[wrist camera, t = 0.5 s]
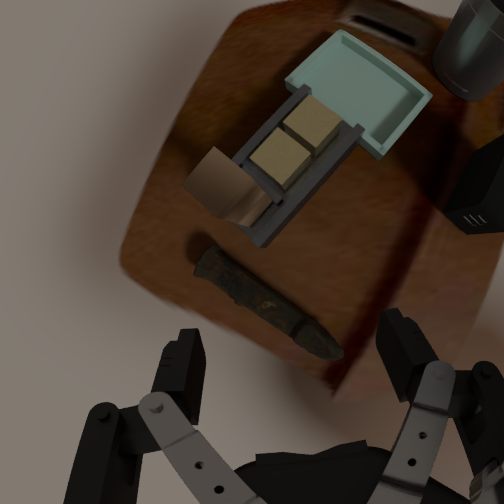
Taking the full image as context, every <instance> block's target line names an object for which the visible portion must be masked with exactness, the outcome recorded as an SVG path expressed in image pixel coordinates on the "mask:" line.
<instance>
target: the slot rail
mask: <svg viewBox="0 0 504 504" xmlns="http://www.w3.org/2000/svg"><path fill="white" fill-rule="evenodd" d="M309 94H310V95H311V96H312V88H310V87H309V86H308V85H306V84H305V83H304V84H303V85H302V86H301V87H300V88H299V89H298V90H297V91H296V92H295V93H294V94H293V95H292V96H291V97H290V98H289V99H288V100H287V101H286V102H285V103H284V104H283V105H282V106H281V107H280V108H279V109H278V110H277V111H276V112H275V113H274V114H273V115H272V116H271V117H270V118H269V119H268V120H267V121H266V122H265V123H264V124H263V126H262V127H261V128H260V129H259V130H258V131H257V132H256V133H255V134H254V135H253V136H252V137H251V138H250V139H249V141H248V142H247V143H246V144H245V145H244V146H243V147H242V148H241V149H240V150H239V151H238V153H237V154H236V155H235V156H234V157H233V158H232V159H231V160H232V161H233V162H234V163H235V164H236V165H238V166H239V167H240V168H241V169H242V168H243V166H244V165H245V166H246V167H247V168H248V169H249V170H251V171H252V172H253V173H254V174H255V175H256V176H258V177H259V178H260V179H261V180H262V181H264V182H265V183H266V184H267V185H268V186H269V187H270V188H272V189H273V190H274V191H275V192H276V193H277V194H279V195H280V196H281V197H282V199H283V202H282V203H281V204H280V205H279V206H277V205H276V204H275V203H274V202H273V203H272V204H271V206H270V207H269V208H268V209H267V210H266V211H265V212H264V213H263V214H262V216H261V217H260V218H259V219H258V220H257V221H256V222H255V223H254V225H253V226H252V227H247V226H244V225H240V224H237V223H236V224H237V225H238V226H239V227H240V228H241V229H242V230H243V231H244V232H245V233H247V234H248V235H249V236H250V237H251V238H252V242H253V243H254V244H255V245H256V246H257V247H258V248H266V247H267V246H268V245H269V244H270V243H271V242H272V241H273V240H274V238H275V237H276V236H277V235H278V234H279V233H280V232H281V231H282V230H283V228H284V227H285V226H286V225H287V224H288V223H289V222H290V221H291V220H292V218H293V217H294V216H295V215H296V214H297V213H298V212H299V211H300V209H301V208H302V207H303V206H304V205H305V204H306V203H307V202H308V201H309V199H310V198H311V197H312V196H313V195H314V194H315V193H316V192H317V191H318V189H319V188H320V187H321V186H322V185H323V184H324V183H325V182H326V180H327V179H328V178H329V177H330V176H331V175H332V174H333V173H334V172H335V170H336V169H337V168H338V167H339V166H340V165H341V164H342V163H343V161H344V160H345V159H346V158H347V157H348V156H349V155H350V154H351V152H352V151H353V150H354V149H355V148H356V147H357V146H358V145H359V143H360V140H361V138H362V136H363V133H364V131H365V128H363V127H362V126H361V125H360V124H358V123H357V124H356V125H355V126H354V127H351V126H350V125H349V124H348V123H346V122H345V121H344V120H342V124H341V128H340V133H339V134H338V135H337V136H336V137H335V138H334V140H333V141H332V142H331V143H330V144H329V145H328V146H327V147H326V148H325V149H324V150H323V152H322V153H321V154H320V155H319V156H318V157H317V158H316V159H314V158H313V157H312V156H311V165H310V166H309V167H308V168H307V169H306V170H305V171H304V172H303V174H302V175H301V176H300V177H299V178H298V179H297V180H296V181H295V182H294V184H293V185H292V186H291V187H290V188H289V189H288V190H287V191H286V192H284V191H283V190H282V189H281V188H280V187H279V186H277V185H276V184H275V183H274V182H273V181H272V180H270V179H269V178H268V177H267V176H266V175H265V174H263V173H262V172H261V171H260V170H259V169H257V168H256V166H255V165H254V163H253V162H252V161H251V159H250V157H251V155H252V154H253V153H254V152H255V151H256V150H257V149H258V148H259V147H260V146H261V145H262V143H263V142H264V141H265V140H266V139H267V138H268V137H269V136H270V135H271V134H272V133H273V132H274V131H275V130H276V128H277V127H278V128H280V129H281V130H282V131H284V132H285V129H284V125H283V121H284V120H285V119H286V118H287V117H288V116H289V115H290V114H291V113H292V112H293V111H294V110H295V109H296V108H297V107H298V106H299V104H300V103H301V102H302V101H303V100H304V99H305V98H306V97H307V96H308V95H309Z"/></svg>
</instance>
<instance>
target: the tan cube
mask: <svg viewBox="0 0 504 504" xmlns="http://www.w3.org/2000/svg"><path fill="white" fill-rule="evenodd" d="M341 124H342V118H341V117H340V116H338V115H337V114H336V113H335V112H333V111H332V110H331V109H329V108H328V107H327V106H325V105H324V104H323V103H321V102H320V101H318V100H317V99H316V98H314V97H313V96H311V95H310V94H309V95H308V96H307V97H306V98H305V99H304V100H303V101H302V102H301V103H300V104H299V106H298V107H297V108H296V109H295V110H294V111H293V112H292V113H291V114H290V115H289V116H288V117H287V118H286V119H285V120H284V121H283V125H284V129H285V133H286V134H287V135H289V136H290V137H291V138H293V139H294V140H295V141H296V142H298V143H299V144H300V145H301V146H303V147H304V148H305V149H306V150H308V151H309V152H310V153H311V156H312V157H313V158H314V159H316V158H317V157H318V156H319V155H320V154H321V153H322V152H323V150H324V149H325V148H326V147H327V146H328V145H329V144H330V143H331V142H332V141H333V140H334V138H335V137H336V136H337V135H338V134H339V133H340V128H341Z"/></svg>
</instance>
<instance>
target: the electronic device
mask: <svg viewBox="0 0 504 504" xmlns="http://www.w3.org/2000/svg"><path fill="white" fill-rule="evenodd" d="M443 213H444V214H445V215H446V216H447V217H448V218H449V219H451V220H452V221H453V222H454V223H455V224H456V225H457V226H458V227H459V228H460V229H461V230H462V231H464V232H465V233H466V234H467V235H469V234H483V233H498V232H504V134H503V135H501V136H500V137H498V138H496V139H495V140H493V141H491V142H490V143H488V144H486V145H485V146H483V147H482V148H480V149H478V150H477V151H476V152H475V153H474V154H473V156H472V157H471V159H470V161H469V163H468V165H467V167H466V169H465V171H464V173H463V175H462V177H461V179H460V181H459V183H458V185H457V187H456V188H455V190H454V192H453V194H452V196H451V197H450V199H449V201H448V203H447V205H446V206H445V208H444V210H443Z"/></svg>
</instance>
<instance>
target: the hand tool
mask: <svg viewBox="0 0 504 504" xmlns="http://www.w3.org/2000/svg"><path fill="white" fill-rule="evenodd" d="M193 275H194V276H196V277H200V278H203V279H206V280H209V281H210V282H212V283H213V284H214V285H216V286H217V287H218V288H220V289H221V290H223V291H224V292H226V293H227V294H228V295H229V297H230V298H232V299H234V301H235V304H237V305H239V306H245V307H247V308H248V309H250V310H251V311H252V312H254V313H255V314H257V315H258V316H259V317H261V318H262V319H264V320H266V321H267V322H269V323H270V324H271V325H273V326H275V327H276V328H278V329H279V330H281V331H282V332H283V333H285V334H286V335H288V336H289V337H290V338H292V339H293V341H294V342H295V343H296V344H297V345H299V346H300V347H302V348H305V349H306V350H307V351H308V352H309V353H312V354H315V355H316V356H318V357H319V358H322V359H326V360H332V361H335V360H339V359H341V358H343V356H344V354H343V353H344V351H343V349H342V348H341V347H340V346H339V345H338V343H337V342H336V340H335V339H334V338H333V337H331V336H330V334H329V333H328V332H327V331H326V330H324V329H323V328H322V327H321V326H320V325H319V324H318V323H317V322H316V321H315V320H314V319H312V318H309V317H308V316H306V315H305V314H303V313H302V312H301V311H299V310H298V309H297V308H295V307H294V306H293V305H291V304H290V303H289V302H287V301H286V300H285V299H283V298H282V297H281V296H279V295H278V294H277V293H275V292H274V291H272V290H271V289H269V288H268V287H267V286H265V285H264V284H262V283H261V282H260V281H259V280H258V279H256V278H255V277H254V276H253V275H252V274H250V273H249V272H248V271H246V270H244V269H243V268H242V267H240V266H238V265H236V264H235V263H234V262H232V261H231V260H230V259H228V258H227V257H226V256H225V255H223V253H222V252H221V251H220V247H219V245H213V246H211V247H209V248H208V249H207V250H206V251H205V252H204V254H203V255H202V256H201V258H200V259H199V260H198V261H197V263H196V267H195V270H194V274H193Z"/></svg>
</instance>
